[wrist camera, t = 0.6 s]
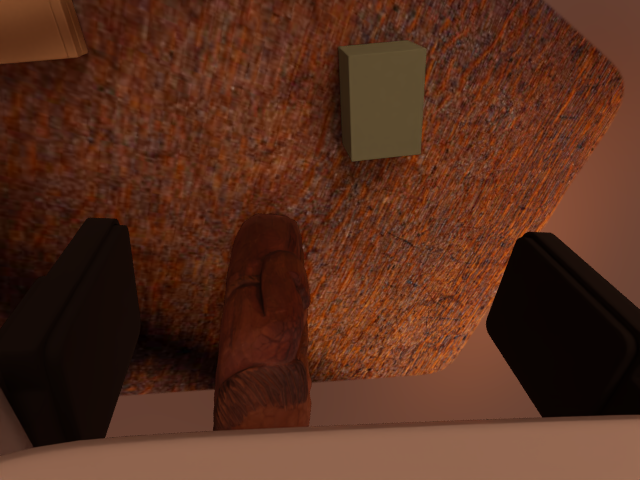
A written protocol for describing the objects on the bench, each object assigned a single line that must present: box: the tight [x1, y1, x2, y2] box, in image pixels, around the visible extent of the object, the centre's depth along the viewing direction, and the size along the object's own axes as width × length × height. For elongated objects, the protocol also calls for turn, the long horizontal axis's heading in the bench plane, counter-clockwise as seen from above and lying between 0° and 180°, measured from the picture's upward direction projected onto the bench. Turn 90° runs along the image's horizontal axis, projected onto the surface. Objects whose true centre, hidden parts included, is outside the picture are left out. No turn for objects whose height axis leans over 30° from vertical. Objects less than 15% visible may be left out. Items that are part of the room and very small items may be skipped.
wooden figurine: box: [213, 214, 312, 431], centre depth 32 cm, size 12×6×18 cm, turn 171°
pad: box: [338, 40, 426, 162], centre depth 31 cm, size 7×5×4 cm
